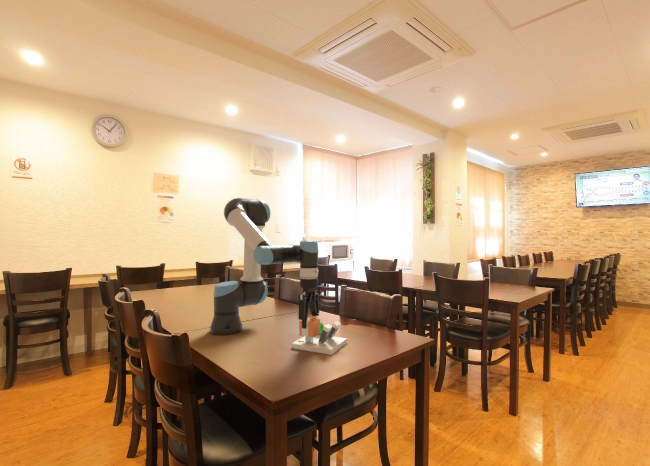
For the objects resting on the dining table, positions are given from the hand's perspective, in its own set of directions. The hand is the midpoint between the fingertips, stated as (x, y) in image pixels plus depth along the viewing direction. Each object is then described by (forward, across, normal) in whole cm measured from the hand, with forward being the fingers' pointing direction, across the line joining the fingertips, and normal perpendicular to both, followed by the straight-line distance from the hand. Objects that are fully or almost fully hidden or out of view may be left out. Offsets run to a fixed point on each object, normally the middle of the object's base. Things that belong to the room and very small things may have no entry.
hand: (309, 333), depth 141 cm
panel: (+6, +4, -3) cm, 8 cm away
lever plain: (+3, +7, -6) cm, 10 cm away
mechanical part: (+6, +16, +4) cm, 17 cm away
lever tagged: (+3, 0, -6) cm, 6 cm away
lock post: (+4, 0, 0) cm, 4 cm away
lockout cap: (0, 0, 0) cm, 0 cm away
